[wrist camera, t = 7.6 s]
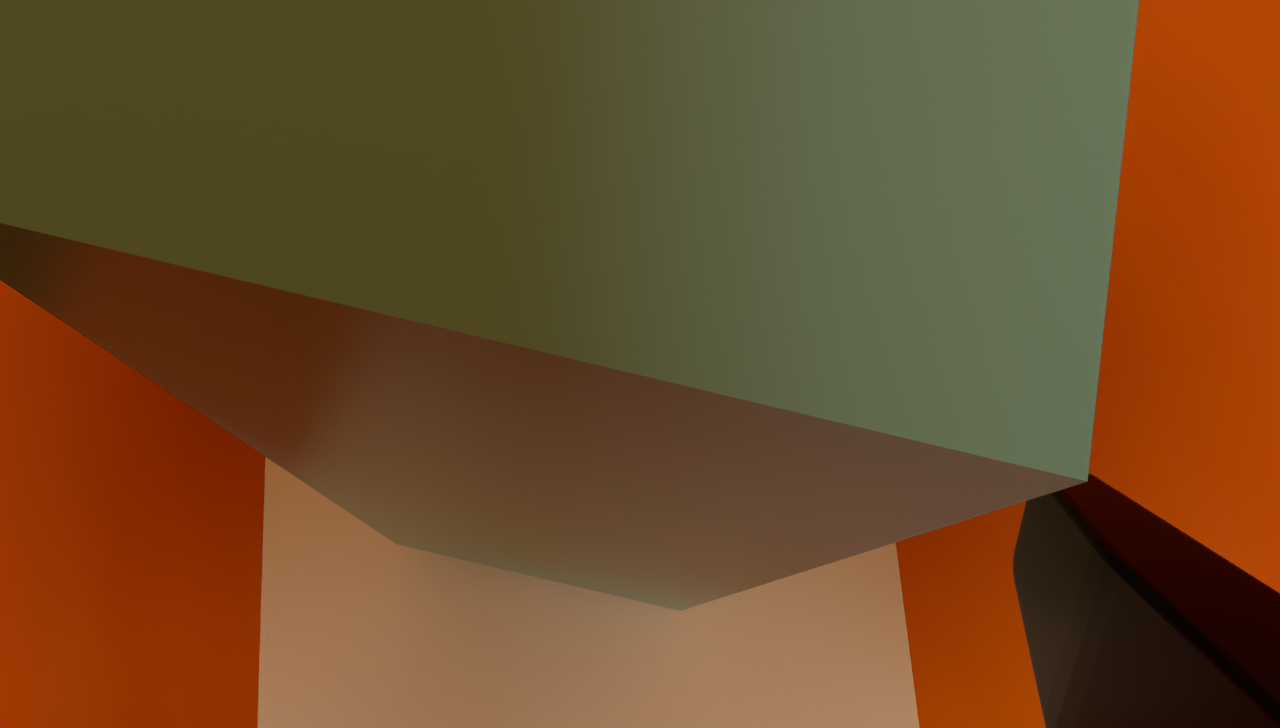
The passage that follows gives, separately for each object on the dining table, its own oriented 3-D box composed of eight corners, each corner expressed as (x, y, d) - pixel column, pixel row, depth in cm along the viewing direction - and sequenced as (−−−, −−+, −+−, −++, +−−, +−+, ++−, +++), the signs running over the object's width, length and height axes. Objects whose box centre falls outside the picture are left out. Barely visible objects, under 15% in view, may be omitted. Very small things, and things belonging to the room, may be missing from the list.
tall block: (680, 610, 16) (1088, 479, 4) (396, 544, 16) (-131, 193, 4) (736, 339, 18) (1184, -428, 5) (472, 277, 18) (265, -661, 5)
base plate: (878, 725, 19) (920, 738, 16) (316, 764, 19) (255, 784, 16) (817, 207, 21) (843, 137, 19) (324, 237, 21) (273, 173, 18)
